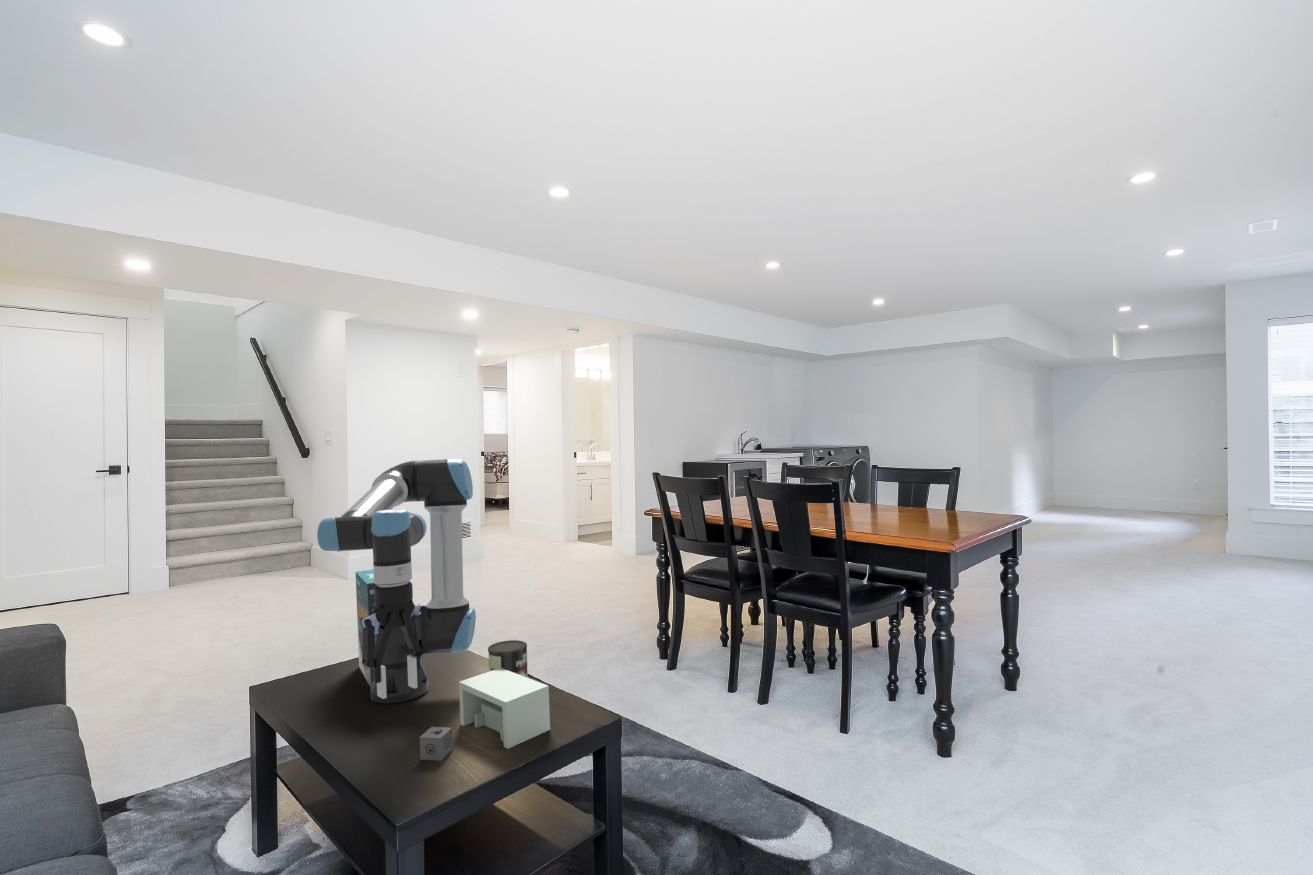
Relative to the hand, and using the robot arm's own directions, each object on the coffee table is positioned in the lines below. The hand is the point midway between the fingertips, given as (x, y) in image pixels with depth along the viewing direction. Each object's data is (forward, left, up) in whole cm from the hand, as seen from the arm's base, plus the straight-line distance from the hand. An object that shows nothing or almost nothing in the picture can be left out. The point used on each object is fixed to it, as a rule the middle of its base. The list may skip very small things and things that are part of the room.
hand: (397, 691), depth 137 cm
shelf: (0, +26, -17) cm, 31 cm away
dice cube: (-1, +9, -17) cm, 19 cm away
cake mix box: (-62, +22, -17) cm, 68 cm away
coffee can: (-14, +37, -17) cm, 43 cm away
